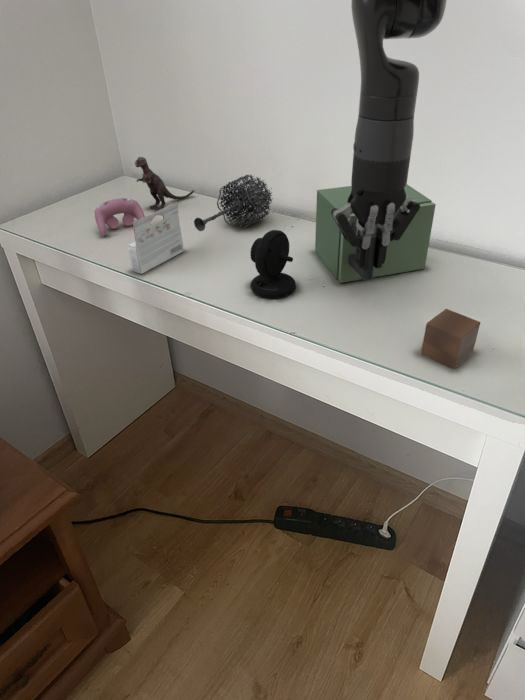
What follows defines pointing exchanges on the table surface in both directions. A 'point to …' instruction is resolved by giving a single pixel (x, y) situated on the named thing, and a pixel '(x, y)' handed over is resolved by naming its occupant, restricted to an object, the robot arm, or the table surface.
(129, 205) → the video game controller
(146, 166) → the dinosaur model
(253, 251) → the webcam
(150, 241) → the ink cartridge box
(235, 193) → the massage brush
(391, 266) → the door
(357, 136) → the robot arm
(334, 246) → the cupboard
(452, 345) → the block
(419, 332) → the table surface
